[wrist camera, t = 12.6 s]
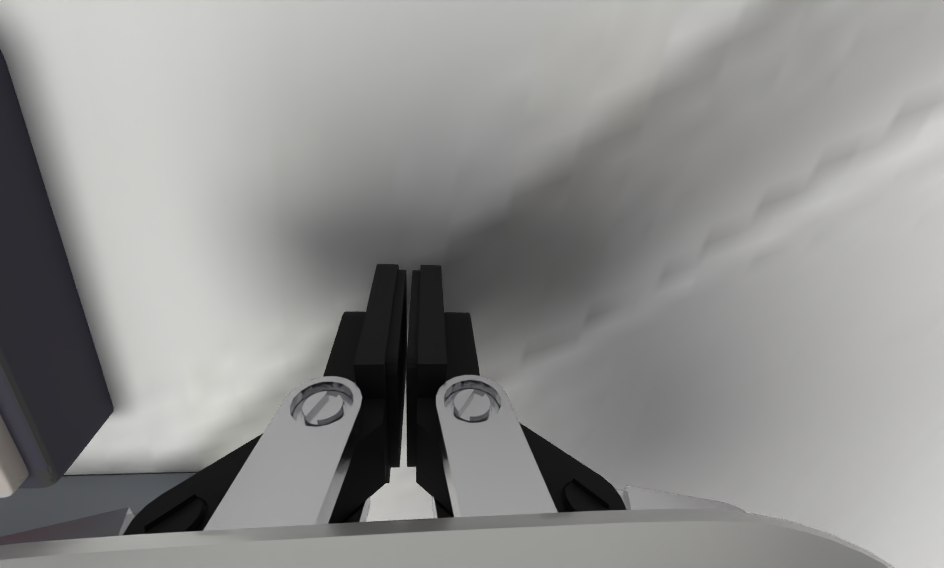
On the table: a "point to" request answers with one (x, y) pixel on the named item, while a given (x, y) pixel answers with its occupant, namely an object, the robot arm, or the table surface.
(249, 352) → the table surface
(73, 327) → the dark long red-fronted box
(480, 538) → the robot arm
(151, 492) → the box
